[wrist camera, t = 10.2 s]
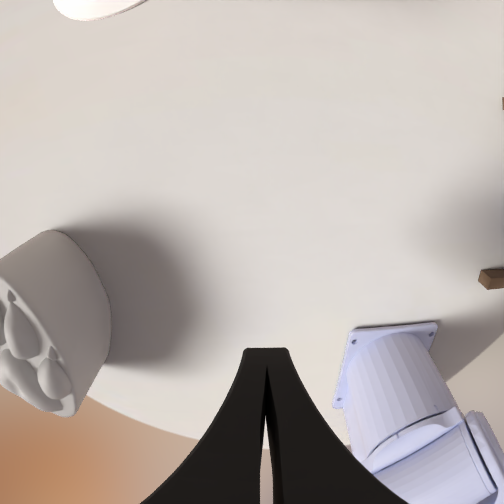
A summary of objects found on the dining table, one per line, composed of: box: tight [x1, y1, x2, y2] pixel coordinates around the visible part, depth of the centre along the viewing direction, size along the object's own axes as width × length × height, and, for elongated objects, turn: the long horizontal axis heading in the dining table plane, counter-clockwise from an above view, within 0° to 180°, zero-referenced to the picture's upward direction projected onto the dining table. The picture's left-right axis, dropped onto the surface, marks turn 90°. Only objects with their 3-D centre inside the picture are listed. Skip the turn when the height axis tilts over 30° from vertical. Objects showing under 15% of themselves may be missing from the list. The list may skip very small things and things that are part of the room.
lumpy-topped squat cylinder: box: [0, 230, 111, 417], centre depth 18 cm, size 10×13×9 cm
